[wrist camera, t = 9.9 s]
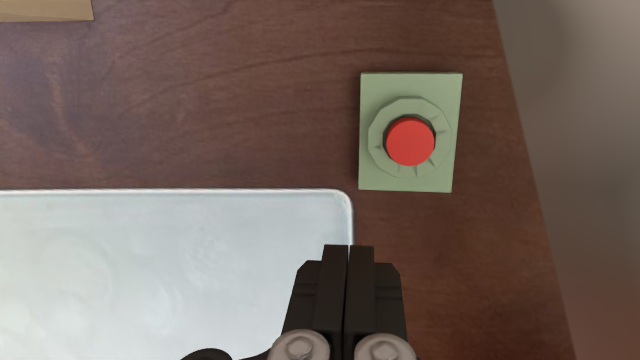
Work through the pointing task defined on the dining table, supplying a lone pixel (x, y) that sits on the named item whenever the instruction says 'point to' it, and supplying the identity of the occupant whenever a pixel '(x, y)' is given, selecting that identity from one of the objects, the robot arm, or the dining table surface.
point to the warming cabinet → (45, 10)
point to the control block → (408, 101)
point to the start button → (409, 141)
